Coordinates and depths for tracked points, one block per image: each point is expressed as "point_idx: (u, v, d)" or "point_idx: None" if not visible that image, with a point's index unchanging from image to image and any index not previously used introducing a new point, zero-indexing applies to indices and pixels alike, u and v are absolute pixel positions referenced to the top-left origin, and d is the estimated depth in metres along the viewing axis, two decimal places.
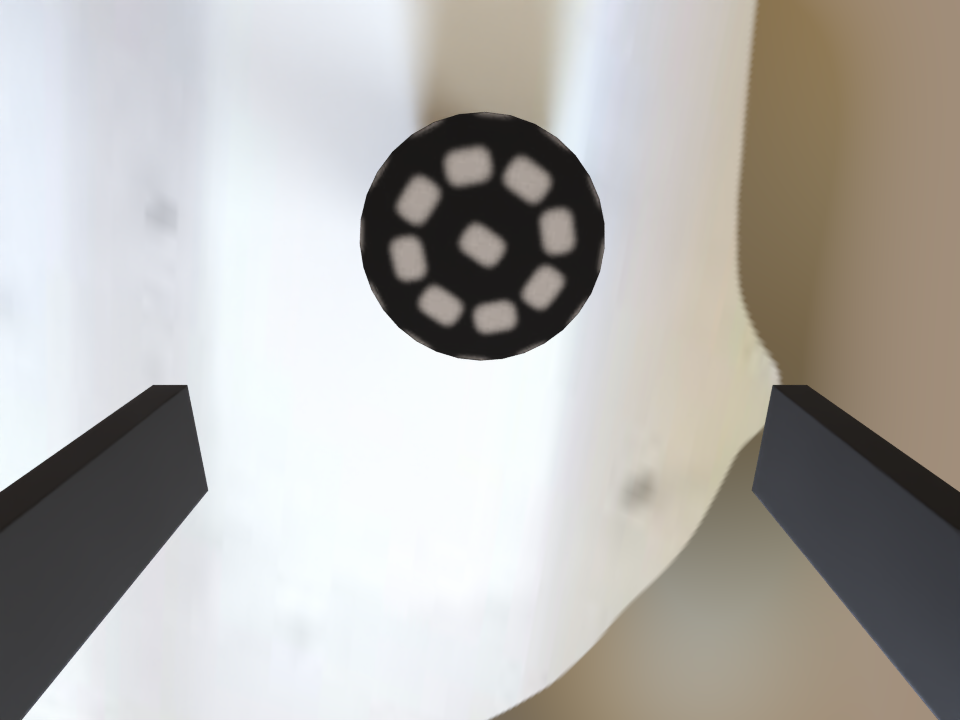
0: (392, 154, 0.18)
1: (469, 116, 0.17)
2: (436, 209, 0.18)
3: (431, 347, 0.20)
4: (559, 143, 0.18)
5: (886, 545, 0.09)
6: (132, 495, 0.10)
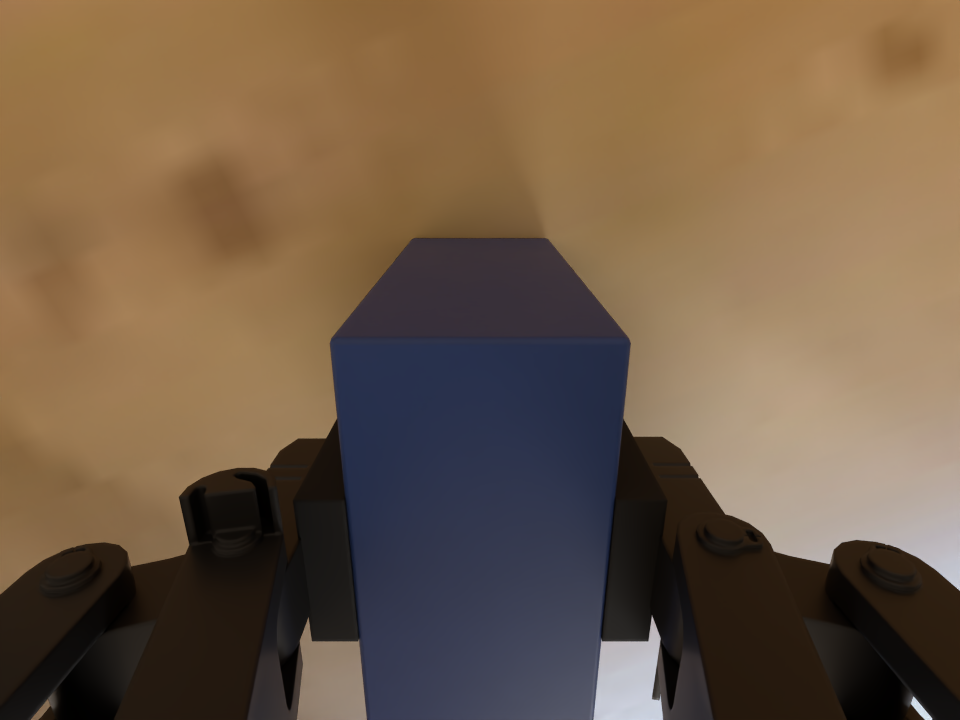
0: None
1: None
2: None
3: None
4: None
5: None
6: None
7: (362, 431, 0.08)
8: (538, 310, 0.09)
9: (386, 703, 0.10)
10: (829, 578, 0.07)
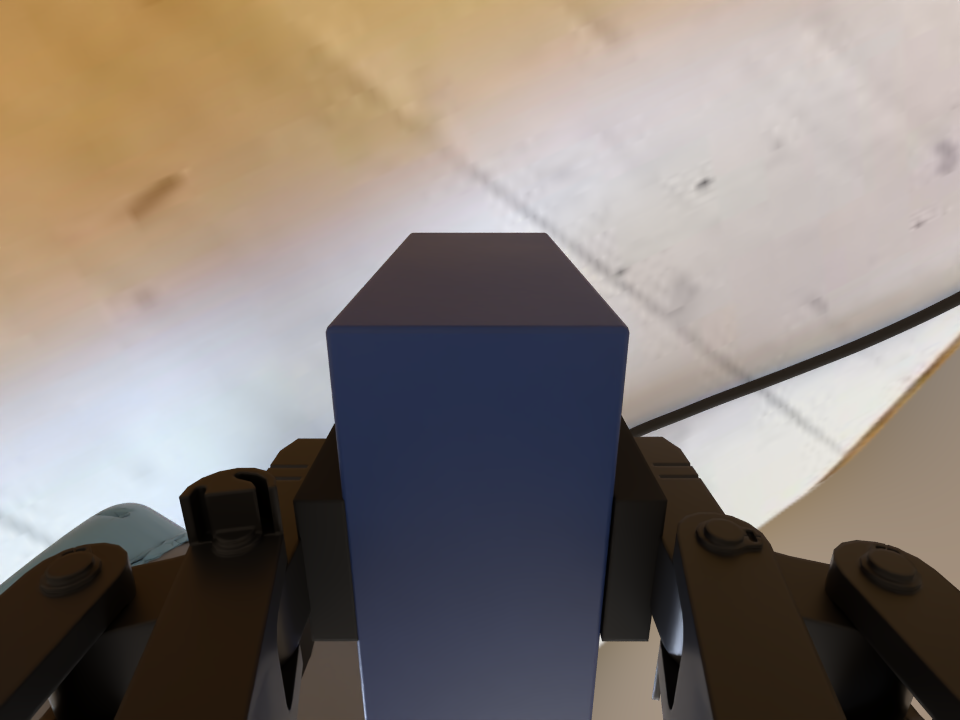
0: None
1: None
2: None
3: None
4: None
5: None
6: None
7: (358, 421, 0.08)
8: (536, 299, 0.08)
9: (383, 697, 0.09)
10: (828, 578, 0.07)
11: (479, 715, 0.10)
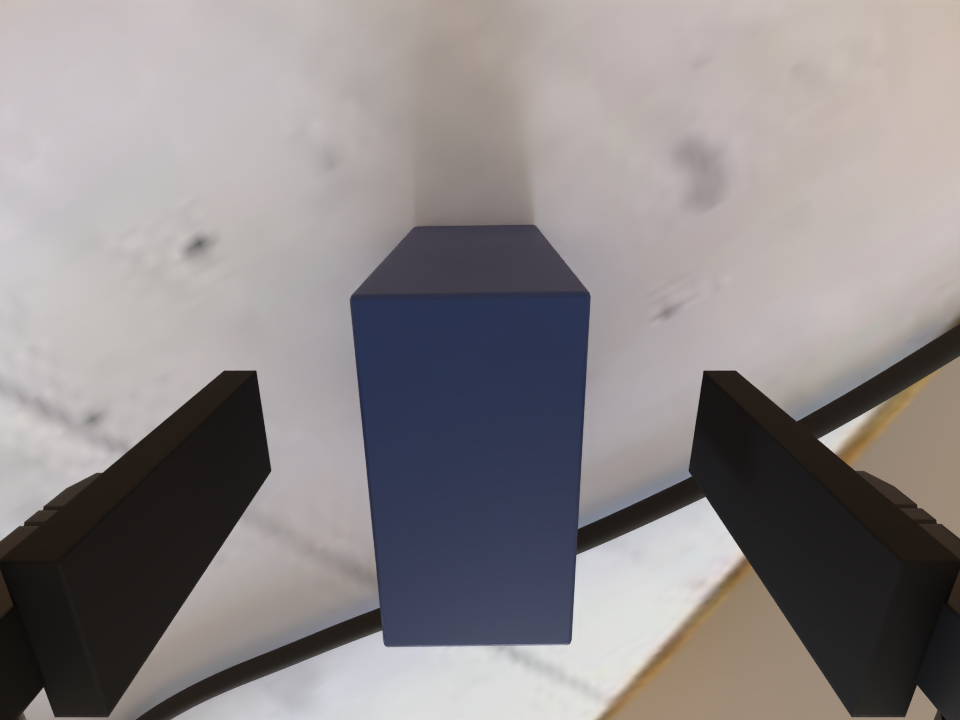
0: None
1: None
2: None
3: None
4: None
5: (783, 512, 0.10)
6: (217, 470, 0.11)
7: (376, 372, 0.10)
8: (519, 275, 0.10)
9: (398, 609, 0.11)
10: None
11: (478, 624, 0.12)
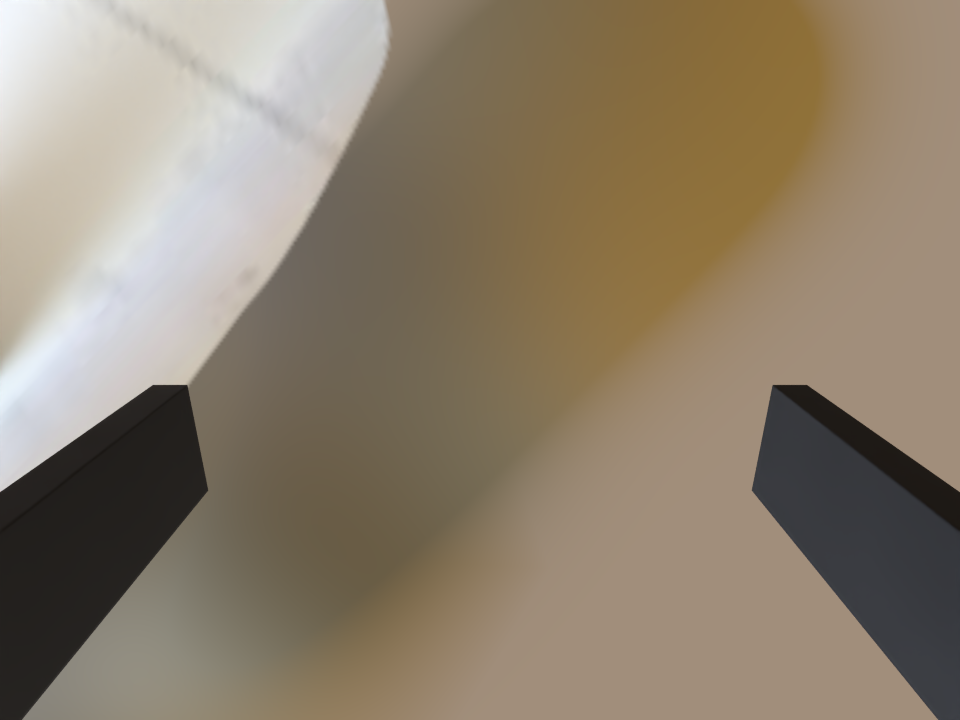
0: None
1: None
2: None
3: None
4: None
5: (886, 545, 0.09)
6: (132, 495, 0.10)
7: None
8: None
9: None
10: None
11: None
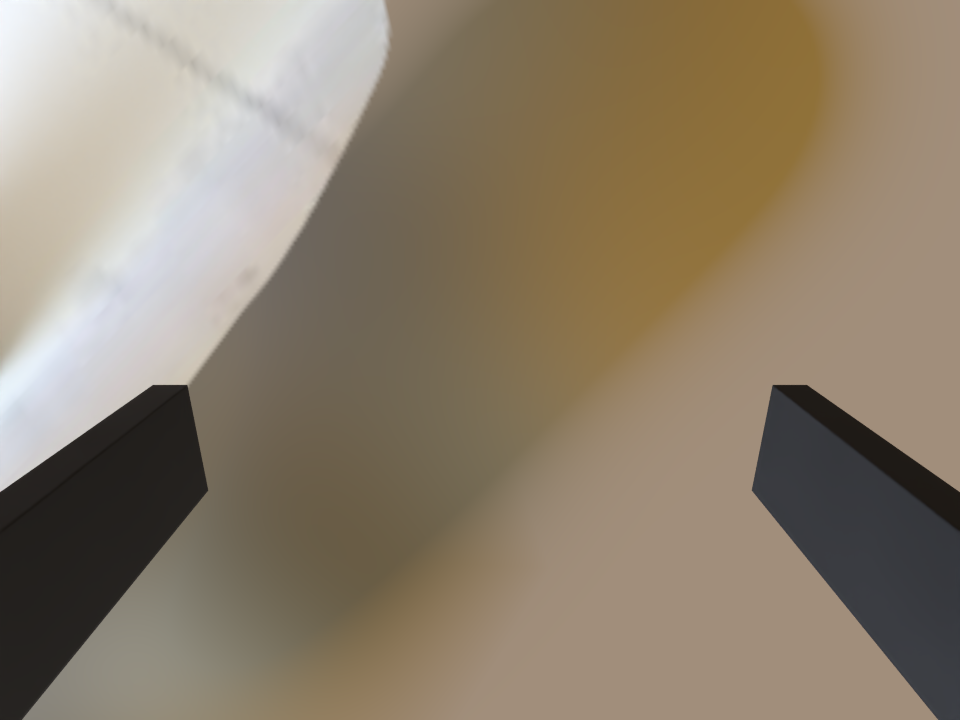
0: None
1: None
2: None
3: None
4: None
5: (886, 545, 0.09)
6: (132, 495, 0.10)
7: None
8: None
9: None
10: None
11: None
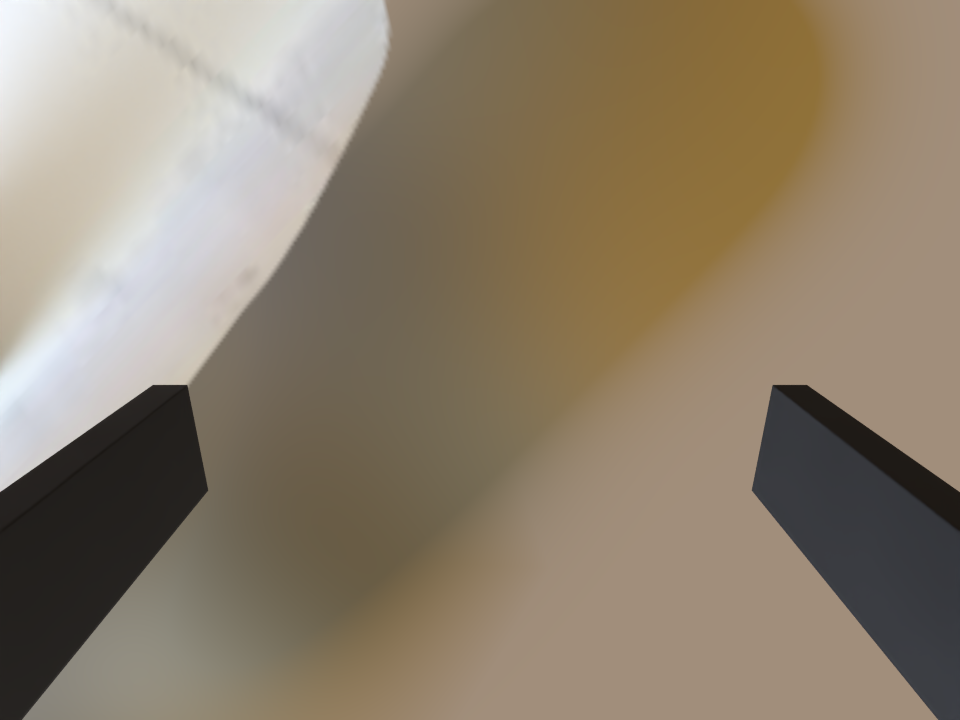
0: None
1: None
2: None
3: None
4: None
5: (886, 545, 0.09)
6: (132, 495, 0.10)
7: None
8: None
9: None
10: None
11: None
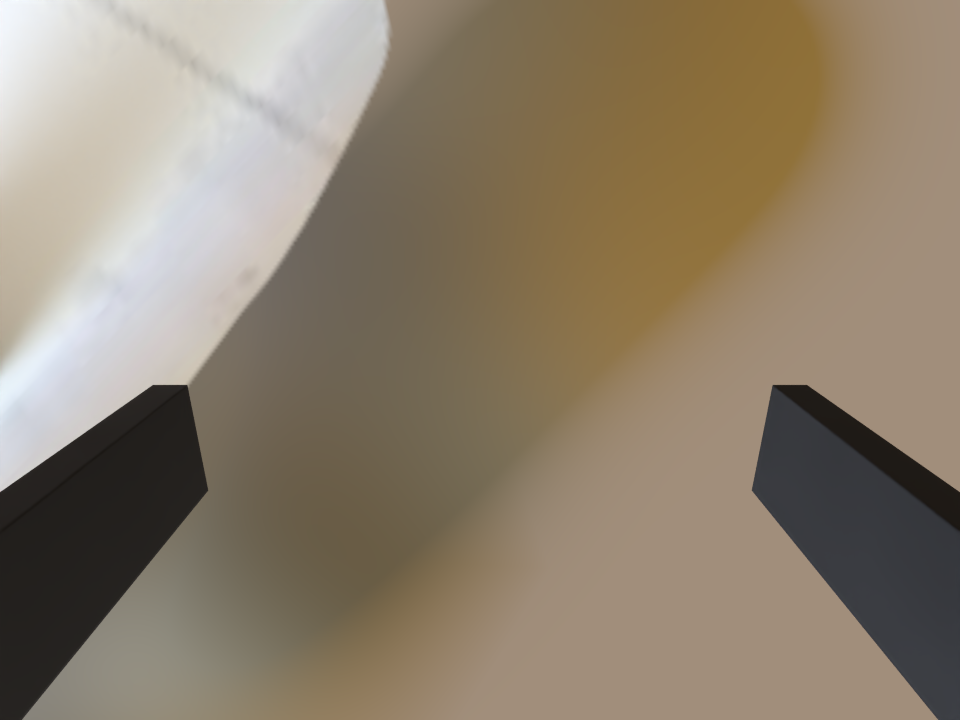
0: None
1: None
2: None
3: None
4: None
5: (886, 545, 0.09)
6: (132, 495, 0.10)
7: None
8: None
9: None
10: None
11: None
